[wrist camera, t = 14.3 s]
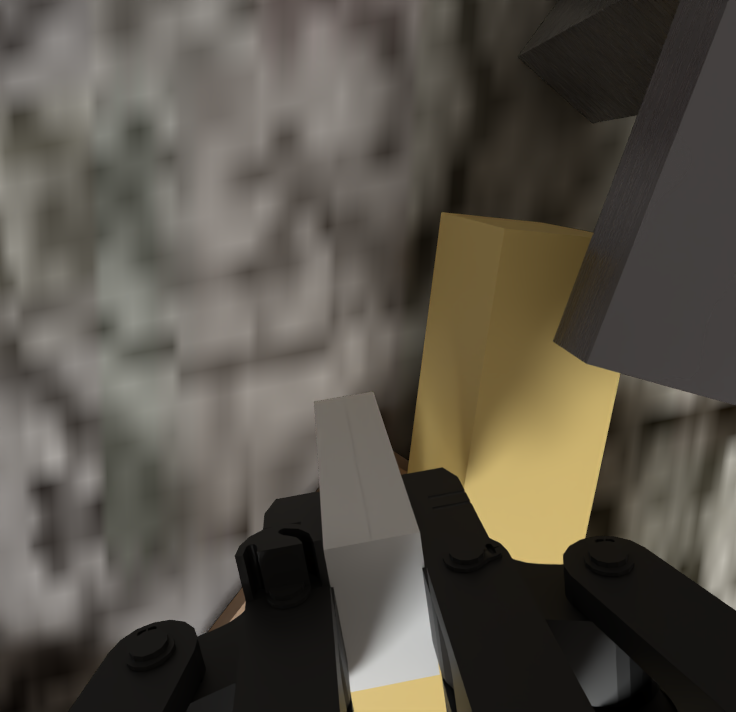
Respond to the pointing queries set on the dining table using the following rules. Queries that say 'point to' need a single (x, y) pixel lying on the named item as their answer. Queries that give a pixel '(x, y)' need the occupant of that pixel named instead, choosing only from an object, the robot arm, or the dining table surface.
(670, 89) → the keeper
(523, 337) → the link
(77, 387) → the dining table surface
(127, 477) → the dining table surface
